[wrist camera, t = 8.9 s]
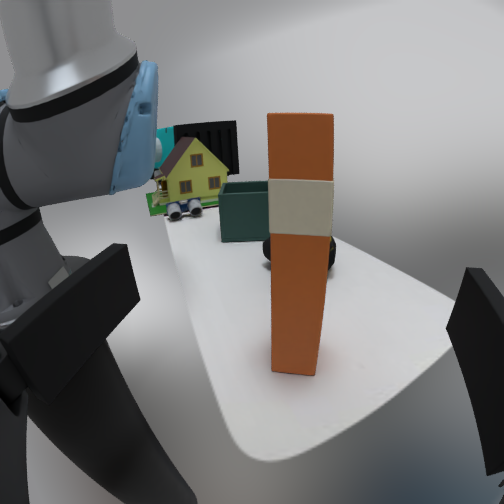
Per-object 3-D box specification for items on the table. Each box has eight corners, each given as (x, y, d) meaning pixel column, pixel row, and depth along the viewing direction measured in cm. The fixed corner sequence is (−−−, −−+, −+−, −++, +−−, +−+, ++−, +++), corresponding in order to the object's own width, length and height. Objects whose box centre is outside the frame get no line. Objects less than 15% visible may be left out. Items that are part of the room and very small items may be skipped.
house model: (150, 216, 50) (141, 145, 45) (145, 194, 67) (139, 142, 62) (246, 200, 56) (243, 133, 51) (218, 183, 73) (214, 133, 68)
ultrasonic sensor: (169, 225, 49) (167, 211, 46) (166, 215, 50) (165, 201, 48) (203, 218, 51) (203, 204, 48) (199, 208, 52) (199, 195, 49)
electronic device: (123, 184, 82) (117, 135, 76) (193, 169, 96) (190, 125, 90) (154, 194, 64) (146, 129, 58) (240, 175, 78) (236, 120, 72)
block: (270, 371, 19) (265, 113, 12) (278, 338, 22) (277, 113, 15) (315, 376, 19) (334, 113, 12) (318, 342, 22) (332, 114, 15)
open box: (221, 242, 39) (217, 194, 37) (225, 224, 46) (222, 182, 43) (278, 240, 39) (278, 192, 37) (274, 222, 46) (273, 180, 43)
